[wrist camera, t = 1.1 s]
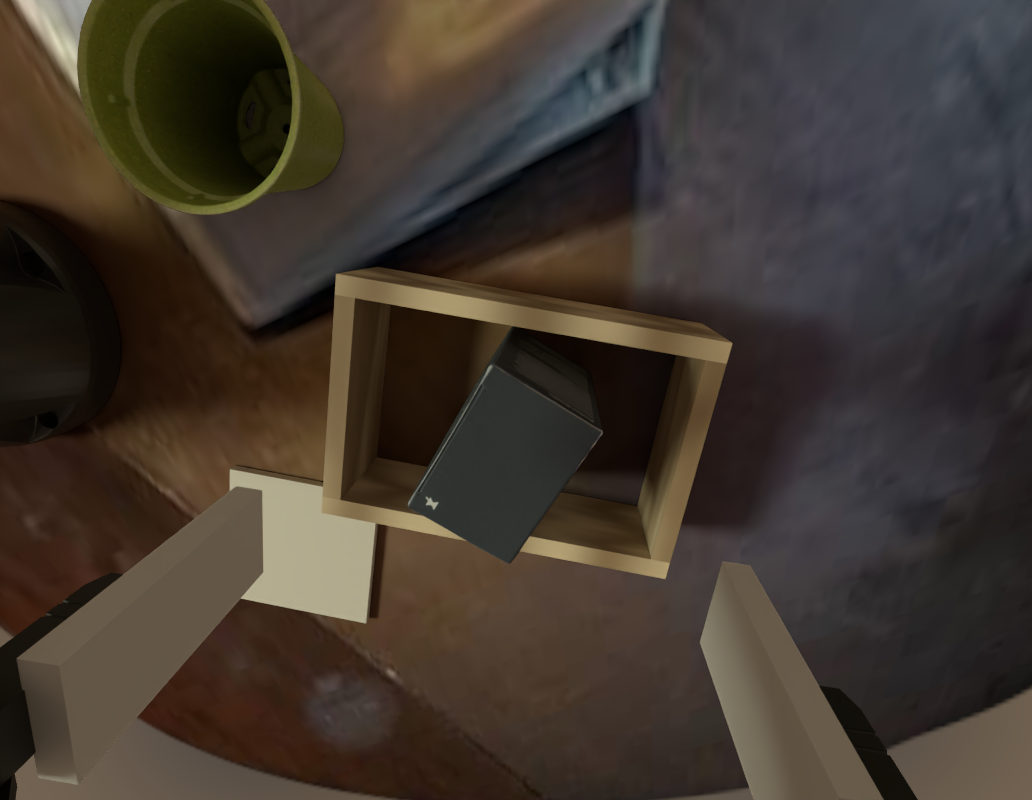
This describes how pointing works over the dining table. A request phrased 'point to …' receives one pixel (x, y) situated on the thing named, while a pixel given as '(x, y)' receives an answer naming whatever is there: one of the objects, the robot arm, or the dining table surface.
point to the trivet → (309, 549)
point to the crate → (370, 293)
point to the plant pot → (204, 102)
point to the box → (511, 447)
